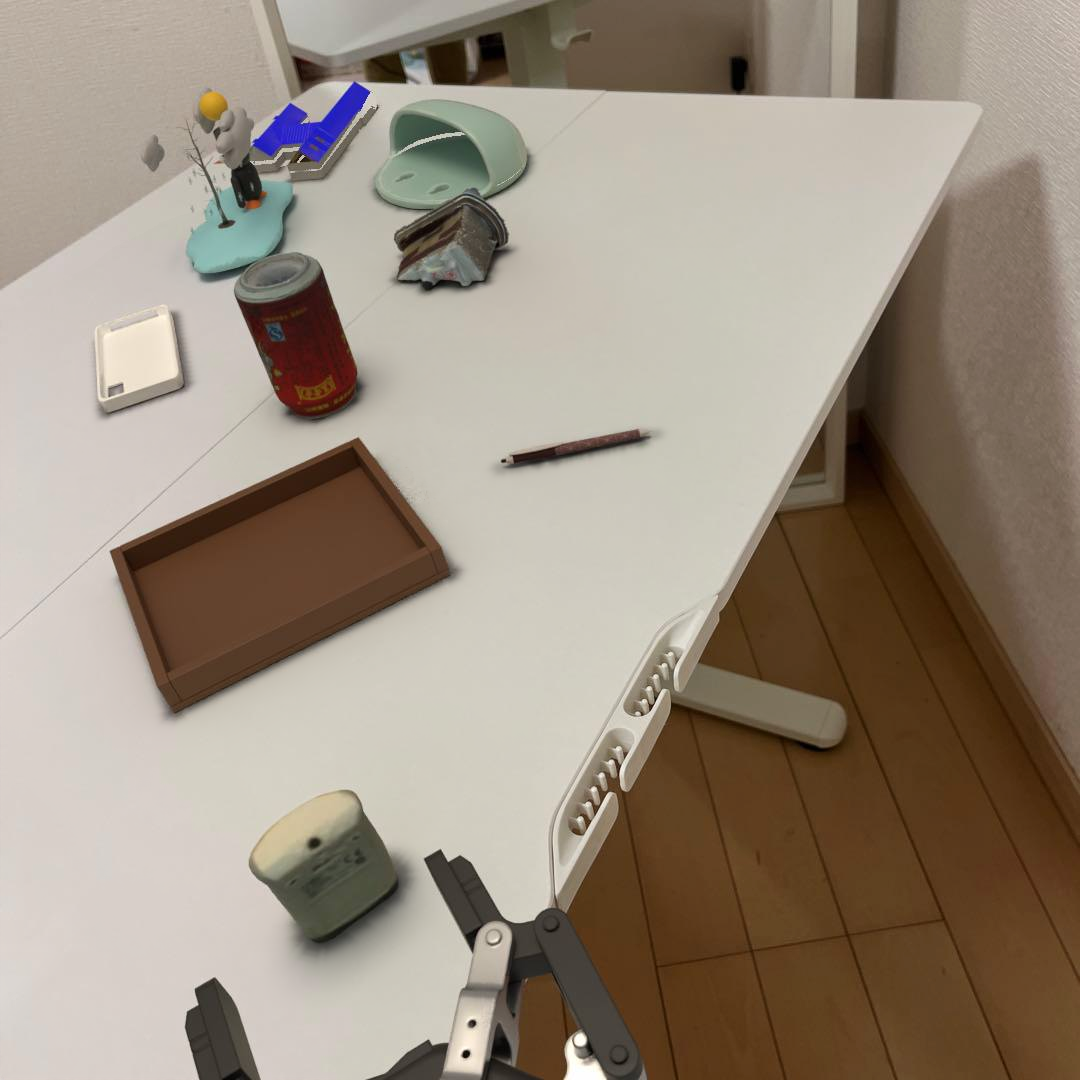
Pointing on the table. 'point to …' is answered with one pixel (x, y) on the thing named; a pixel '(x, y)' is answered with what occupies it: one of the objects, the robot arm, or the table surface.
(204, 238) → the penguin figurine
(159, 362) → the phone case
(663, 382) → the table surface
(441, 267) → the chocolate cake
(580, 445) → the pen
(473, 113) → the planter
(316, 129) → the building model
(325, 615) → the tray
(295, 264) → the soda can
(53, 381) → the table surface
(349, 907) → the cream and green block
